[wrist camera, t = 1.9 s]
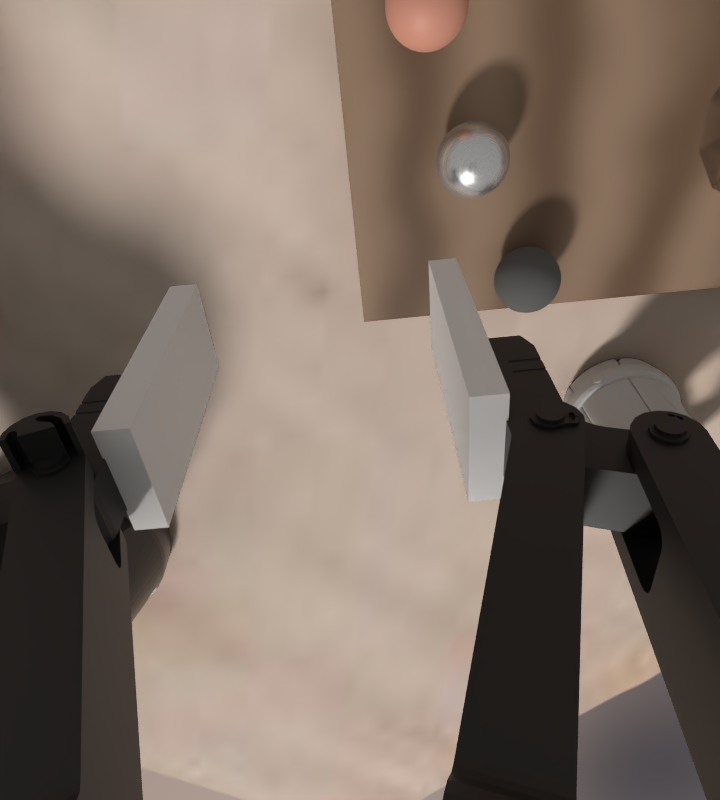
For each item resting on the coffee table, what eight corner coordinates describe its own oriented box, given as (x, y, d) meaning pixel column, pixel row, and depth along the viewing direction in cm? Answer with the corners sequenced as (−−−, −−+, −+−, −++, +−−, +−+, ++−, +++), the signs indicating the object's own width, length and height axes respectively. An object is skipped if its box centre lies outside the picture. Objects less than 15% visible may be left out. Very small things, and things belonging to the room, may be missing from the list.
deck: (363, 303, 38) (364, 321, 36) (326, -55, 28) (325, -57, 26) (854, 254, 37) (884, 271, 35) (1006, -136, 27) (1062, -145, 25)
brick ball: (385, 52, 28) (390, 61, 25) (379, -42, 26) (384, -43, 23) (461, 43, 28) (475, 52, 25) (462, -51, 26) (476, -54, 23)
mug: (634, 331, 40) (729, 449, 30) (712, 433, 45) (815, 563, 35) (535, 398, 43) (593, 526, 33) (619, 487, 48) (691, 620, 38)
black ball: (487, 298, 35) (500, 327, 32) (489, 240, 33) (502, 265, 30) (547, 292, 35) (566, 320, 32) (553, 233, 33) (573, 258, 30)
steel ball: (432, 190, 32) (441, 212, 29) (430, 117, 30) (440, 133, 27) (500, 183, 32) (515, 204, 29) (502, 110, 30) (520, 124, 27)
